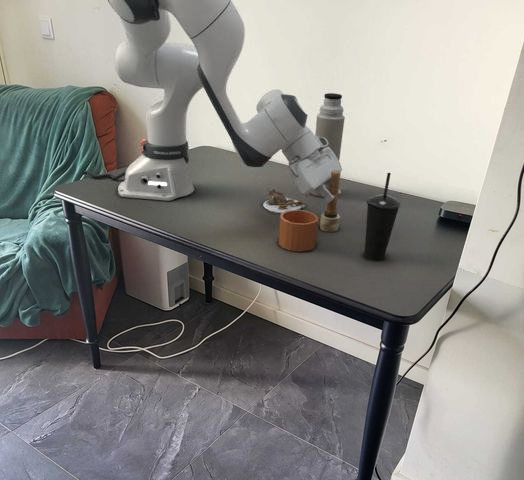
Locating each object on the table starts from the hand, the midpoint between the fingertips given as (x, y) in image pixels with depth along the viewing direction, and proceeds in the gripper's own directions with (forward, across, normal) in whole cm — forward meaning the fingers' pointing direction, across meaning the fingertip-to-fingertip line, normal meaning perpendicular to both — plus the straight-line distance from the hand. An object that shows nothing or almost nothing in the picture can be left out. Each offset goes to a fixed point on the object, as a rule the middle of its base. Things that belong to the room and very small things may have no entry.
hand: (335, 197), depth 133 cm
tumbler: (+3, -14, +8) cm, 17 cm away
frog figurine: (-7, +8, +19) cm, 22 cm away
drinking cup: (+17, -10, -5) cm, 20 cm away
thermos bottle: (-3, +25, +15) cm, 30 cm away
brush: (+6, 0, +6) cm, 8 cm away
